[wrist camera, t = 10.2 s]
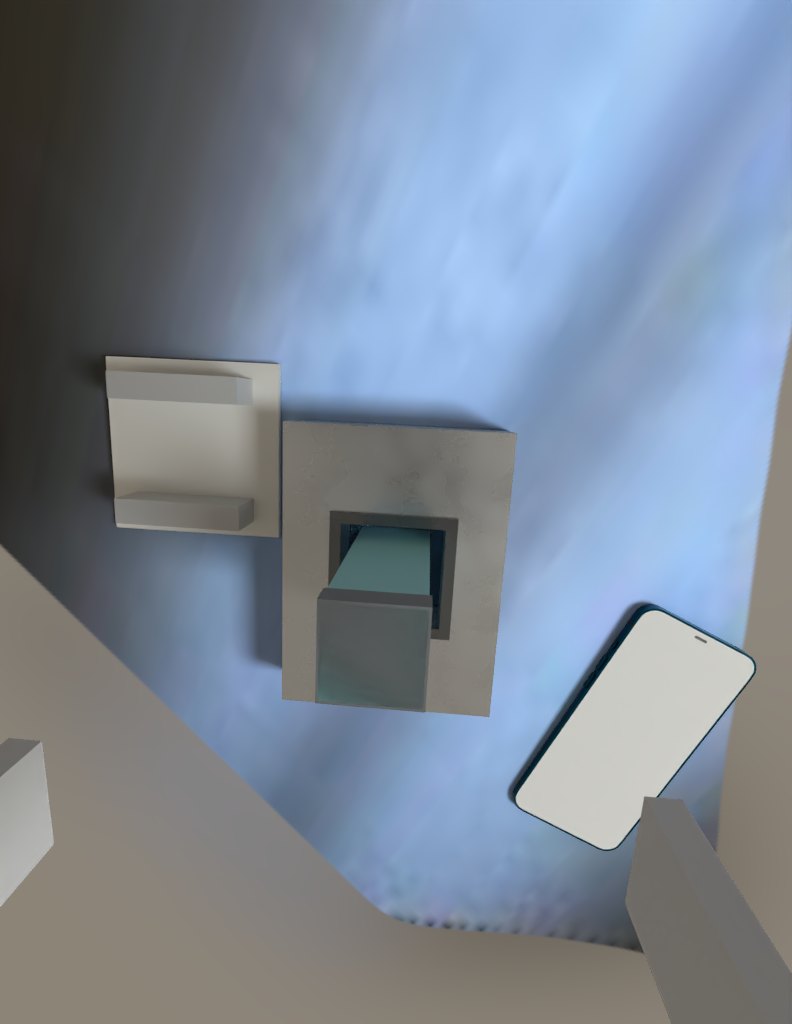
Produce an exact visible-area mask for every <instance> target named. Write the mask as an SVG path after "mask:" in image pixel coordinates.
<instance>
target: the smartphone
mask: <svg viewBox="0 0 792 1024" xmlns="http://www.w3.org/2000/svg"><path fill="white" fill-rule="evenodd" d="M755 672H756V664H755V661H754V660H753V658H752V657H750V656H749V655H748V654H747V653H745V652H744V651H743V650H741V649H739V648H737V647H735V646H733V645H732V644H730V643H728V642H726V641H724V640H722V639H720V638H718V637H716V636H714V635H713V634H711V633H709V632H707V631H705V630H703V629H701V628H699V627H697V626H696V625H694V624H692V623H690V622H688V621H686V620H684V619H682V618H680V617H678V616H677V615H675V614H673V613H671V612H669V611H667V610H665V609H663V608H661V607H659V606H657V605H653V604H649V605H644V606H642V607H640V608H638V609H637V610H636V611H635V613H634V614H633V615H632V617H631V618H630V620H629V621H628V622H627V624H626V625H625V627H624V628H623V630H622V631H621V633H620V634H619V636H618V637H617V639H616V640H615V642H614V643H613V644H612V646H611V647H610V649H609V650H608V652H607V653H606V654H605V655H604V656H603V657H602V659H601V660H600V662H599V663H598V664H597V666H596V669H595V671H594V672H592V673H591V675H590V676H589V677H588V679H587V680H586V682H585V683H584V685H583V688H582V690H581V691H580V693H579V694H578V696H577V697H576V699H575V700H574V702H573V703H572V704H571V706H570V707H569V709H568V710H567V712H566V713H565V715H564V716H563V718H562V719H561V721H560V722H559V723H558V725H557V726H556V728H555V729H554V731H553V732H552V734H551V735H550V737H549V738H548V740H547V741H546V742H545V744H544V745H543V747H542V748H541V750H540V751H539V753H538V754H537V756H536V757H535V759H534V760H533V761H532V763H531V764H530V765H531V766H529V767H528V769H527V770H526V772H525V773H524V775H523V776H522V778H521V779H520V781H519V782H518V783H517V785H516V787H515V788H514V790H513V798H514V802H515V804H516V806H517V807H518V808H519V809H520V810H522V811H524V812H526V813H528V814H530V815H532V816H534V817H536V818H538V819H540V820H542V821H544V822H546V823H548V824H550V825H552V826H554V827H556V828H558V829H560V830H562V831H564V832H566V833H568V834H570V835H572V836H573V837H575V838H577V839H579V840H581V841H583V842H585V843H587V844H589V845H591V846H593V847H595V848H597V849H600V850H602V851H611V850H614V849H616V848H618V847H619V846H620V845H621V844H622V842H623V841H624V840H625V839H626V837H627V836H628V835H629V834H630V832H631V831H632V830H633V829H634V827H635V826H636V825H637V823H638V822H639V821H640V817H641V812H642V806H643V801H644V796H647V797H659V796H660V794H661V793H662V792H663V791H664V789H665V788H666V787H667V785H668V784H669V783H670V782H671V780H672V779H673V778H674V777H675V775H676V774H677V773H678V772H679V770H680V769H681V768H682V766H683V765H684V764H685V763H686V761H687V760H688V759H689V758H690V756H691V755H692V754H693V753H694V751H695V750H696V749H697V747H698V746H699V745H700V744H701V742H702V741H703V740H704V739H705V737H706V736H707V735H708V733H709V732H710V731H711V730H712V728H713V727H714V726H715V725H716V723H717V722H718V721H719V720H720V718H721V717H722V716H723V714H724V713H725V712H726V711H727V709H728V708H729V707H730V706H731V704H732V703H733V702H734V701H735V699H736V698H737V697H738V695H739V694H740V693H741V692H742V690H743V689H744V688H745V687H746V685H747V684H748V683H749V682H750V680H751V679H752V677H753V676H754V674H755Z"/></svg>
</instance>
